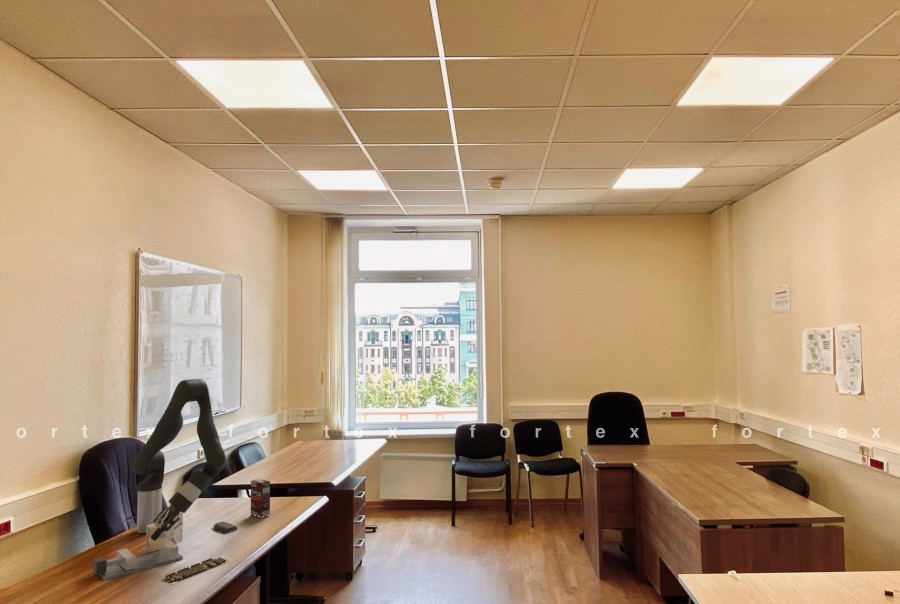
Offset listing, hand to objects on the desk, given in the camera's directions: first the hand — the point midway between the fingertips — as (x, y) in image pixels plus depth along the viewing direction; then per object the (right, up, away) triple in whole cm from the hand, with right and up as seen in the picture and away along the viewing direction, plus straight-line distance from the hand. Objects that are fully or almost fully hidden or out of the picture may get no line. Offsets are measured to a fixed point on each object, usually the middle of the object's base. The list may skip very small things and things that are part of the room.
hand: (150, 537), depth 199 cm
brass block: (+1, -4, +1) cm, 5 cm away
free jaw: (-8, -7, -9) cm, 14 cm away
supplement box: (+22, -13, +53) cm, 59 cm away
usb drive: (+12, -12, +35) cm, 39 cm away
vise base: (-2, -9, -3) cm, 9 cm away
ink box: (-2, -11, +19) cm, 22 cm away
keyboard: (+21, -8, -9) cm, 24 cm away
